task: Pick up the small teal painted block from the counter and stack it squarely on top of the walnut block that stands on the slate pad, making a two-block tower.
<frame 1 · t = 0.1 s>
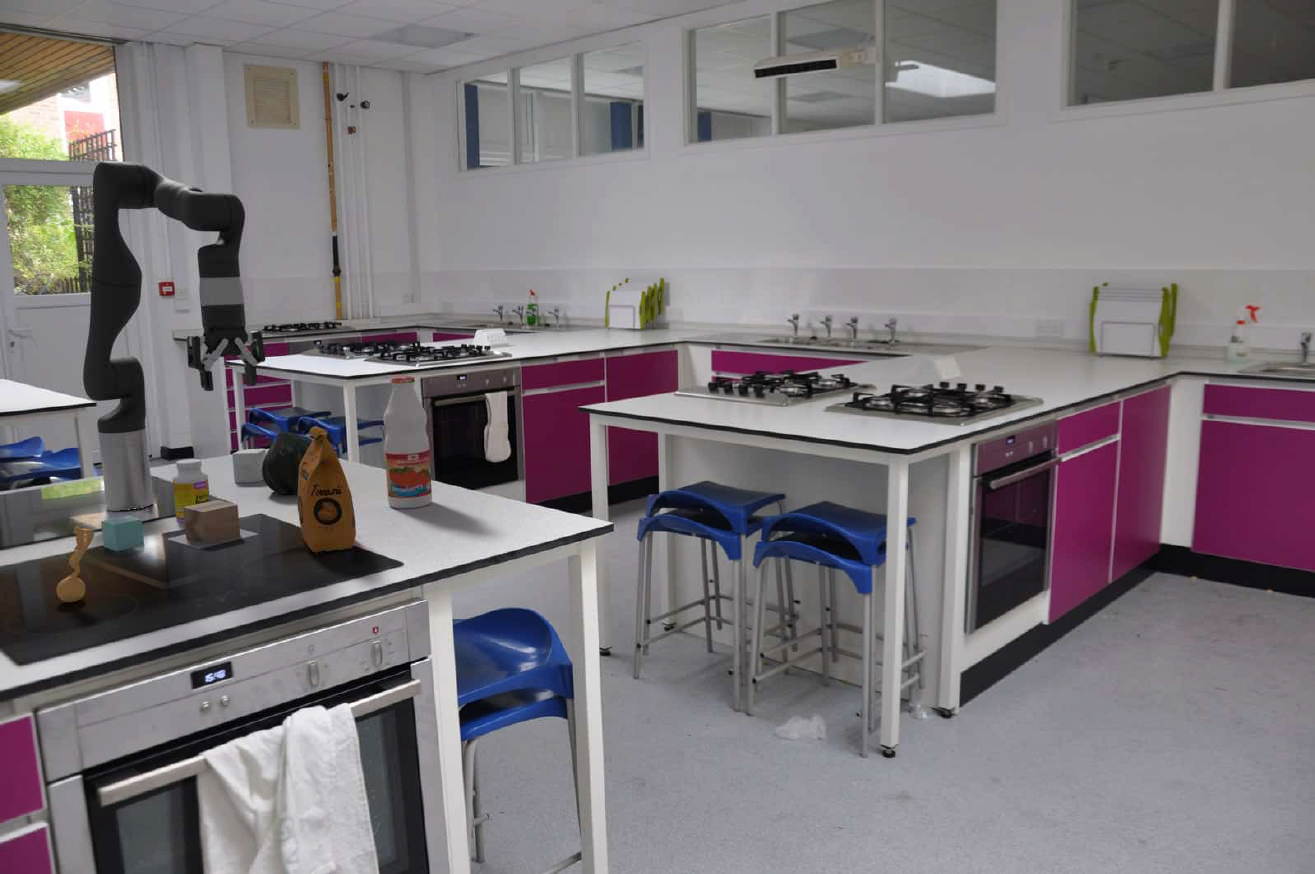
hand: (230, 388, 192), 29 cm above the counter, tool pointing down, fingers open, 8 cm apart
teal block: (124, 551, 188), on the counter
supplement bottle: (194, 522, 209), on the counter
slate pad: (213, 541, 194), on the counter
skincare box: (251, 481, 249), on the counter
squash: (298, 492, 236), on the counter
walnut block: (213, 536, 194), point 1 cm above the counter, touching slate pad
coffee package: (329, 546, 190), on the counter
figurine: (80, 601, 161), on the counter
fruit juice: (410, 505, 221), on the counter
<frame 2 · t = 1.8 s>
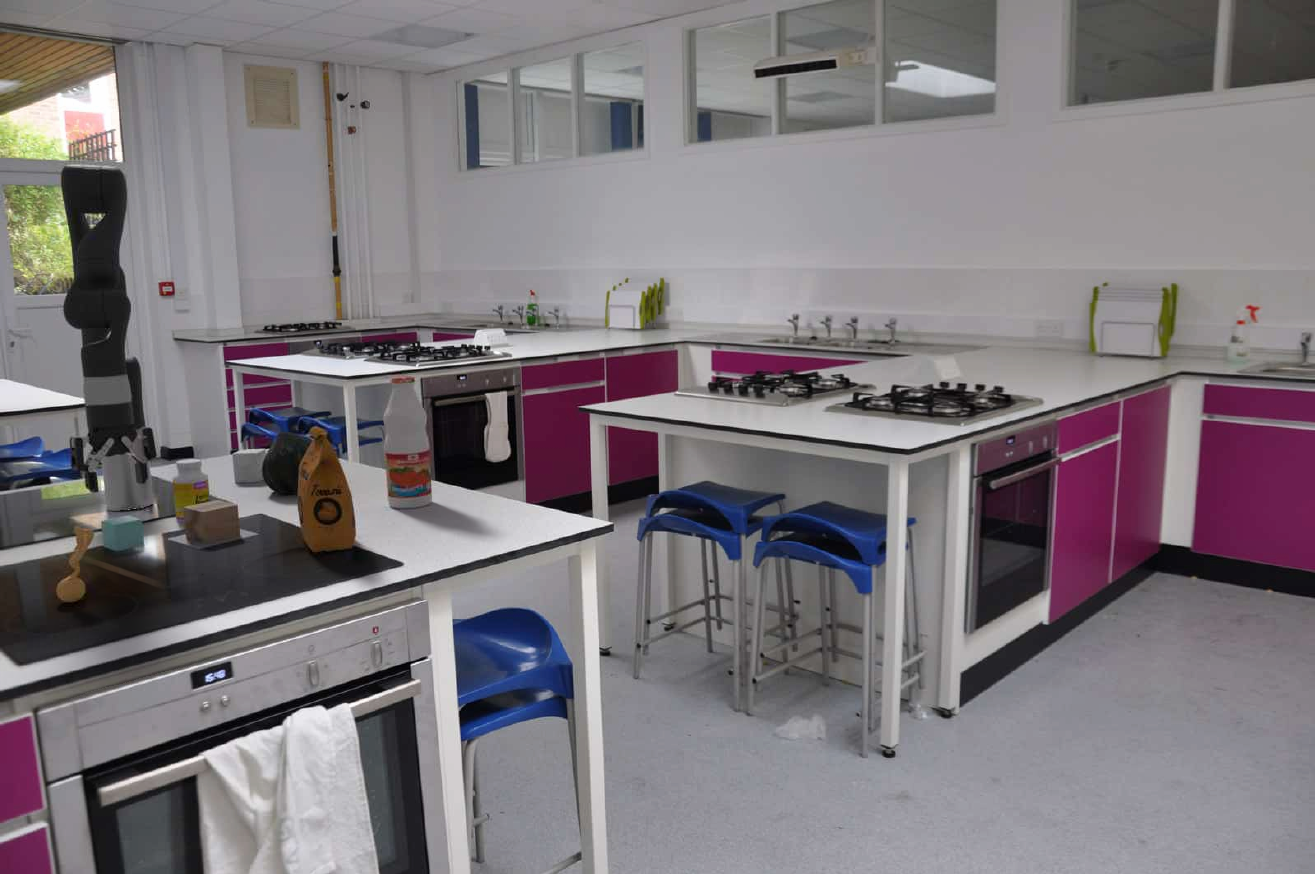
hand: (118, 487, 186), 12 cm above the counter, tool pointing down, fingers open, 8 cm apart
nothing on the counter moved.
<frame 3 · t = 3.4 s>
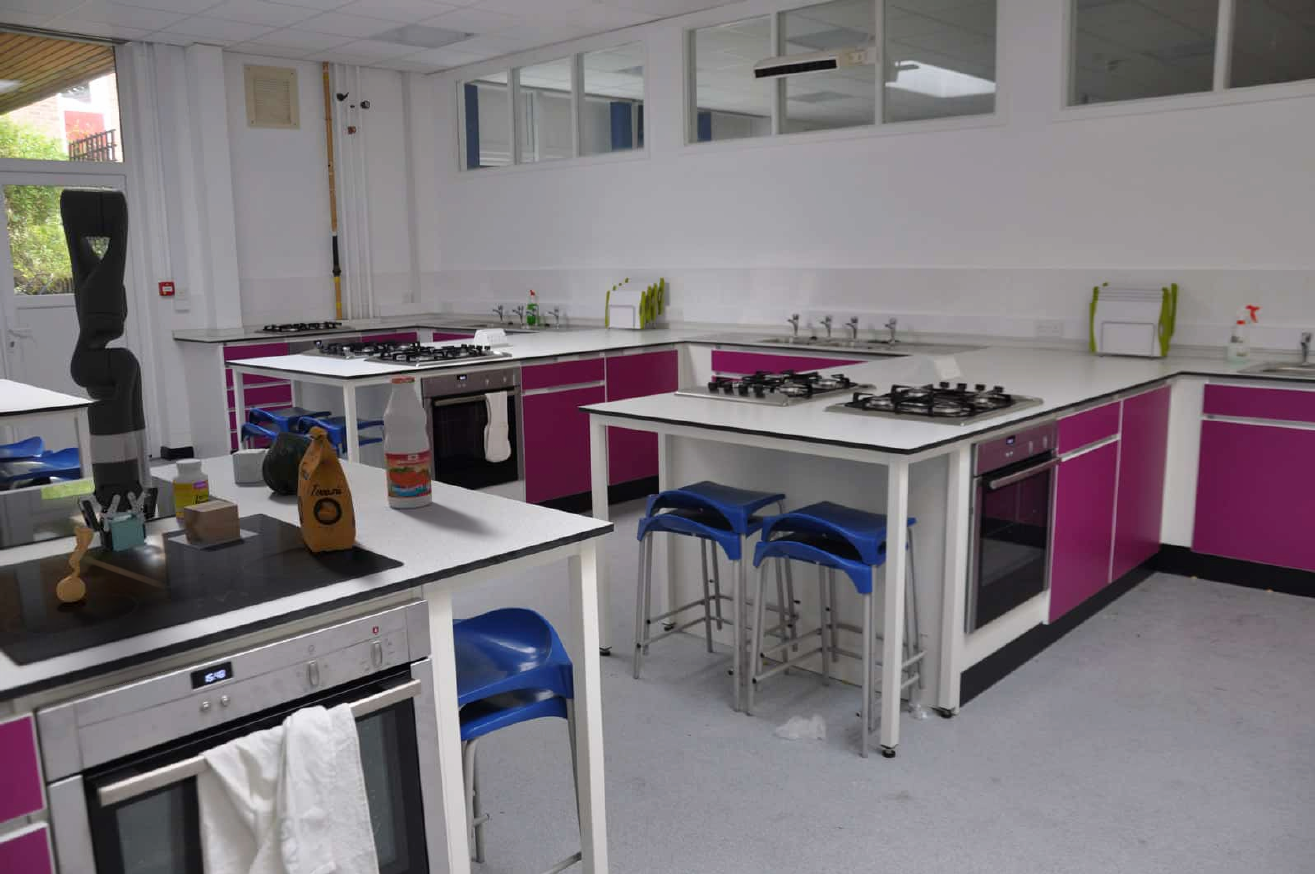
hand: (124, 546, 188), 1 cm above the counter, tool pointing down, fingers closed on teal block, 5 cm apart
teal block: (125, 551, 188), on the counter, touching gripper
everything else where it was.
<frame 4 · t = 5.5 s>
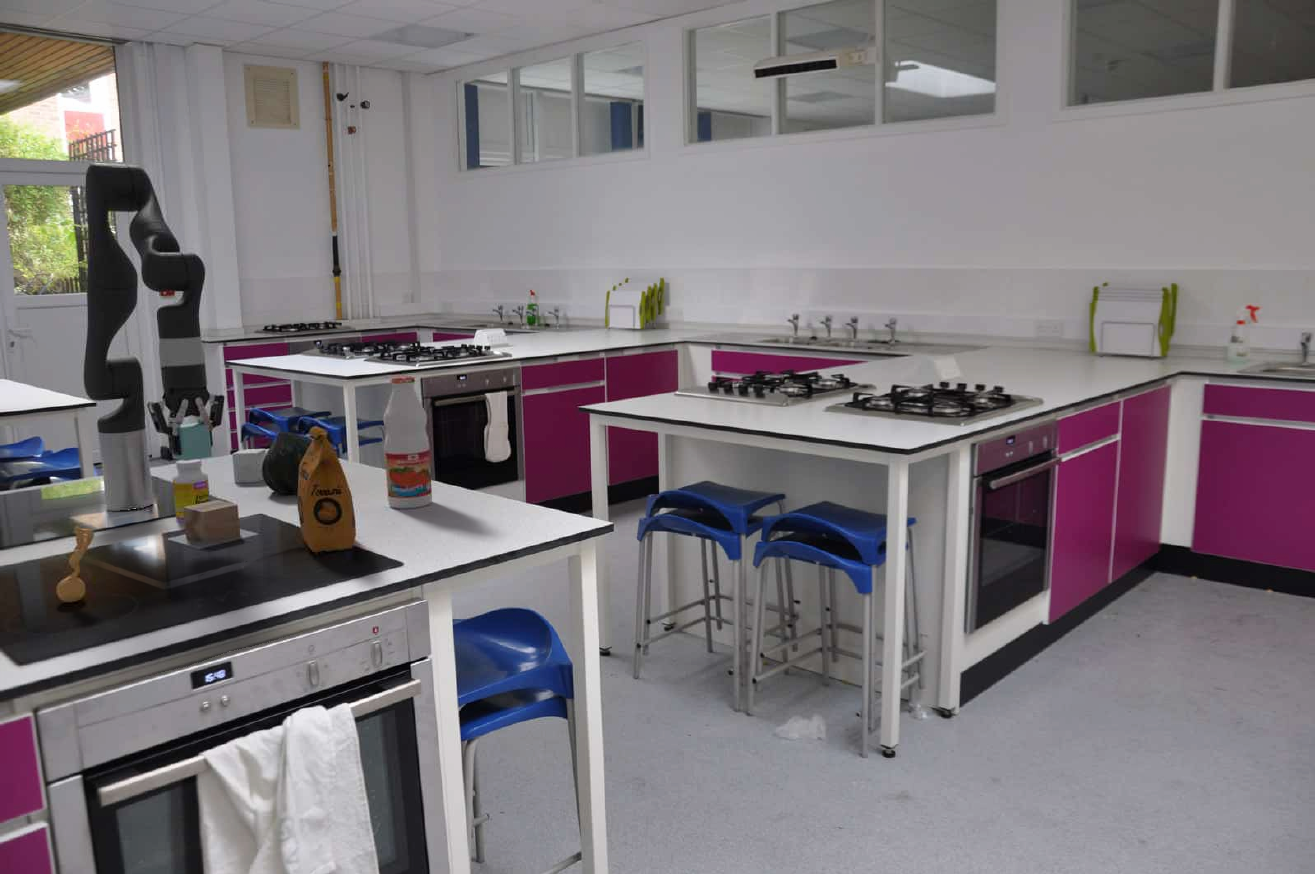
hand: (191, 452, 190), 18 cm above the counter, tool pointing down, fingers closed on teal block, 5 cm apart
teal block: (192, 457, 190), point 17 cm above the counter, touching gripper
everything else where it was.
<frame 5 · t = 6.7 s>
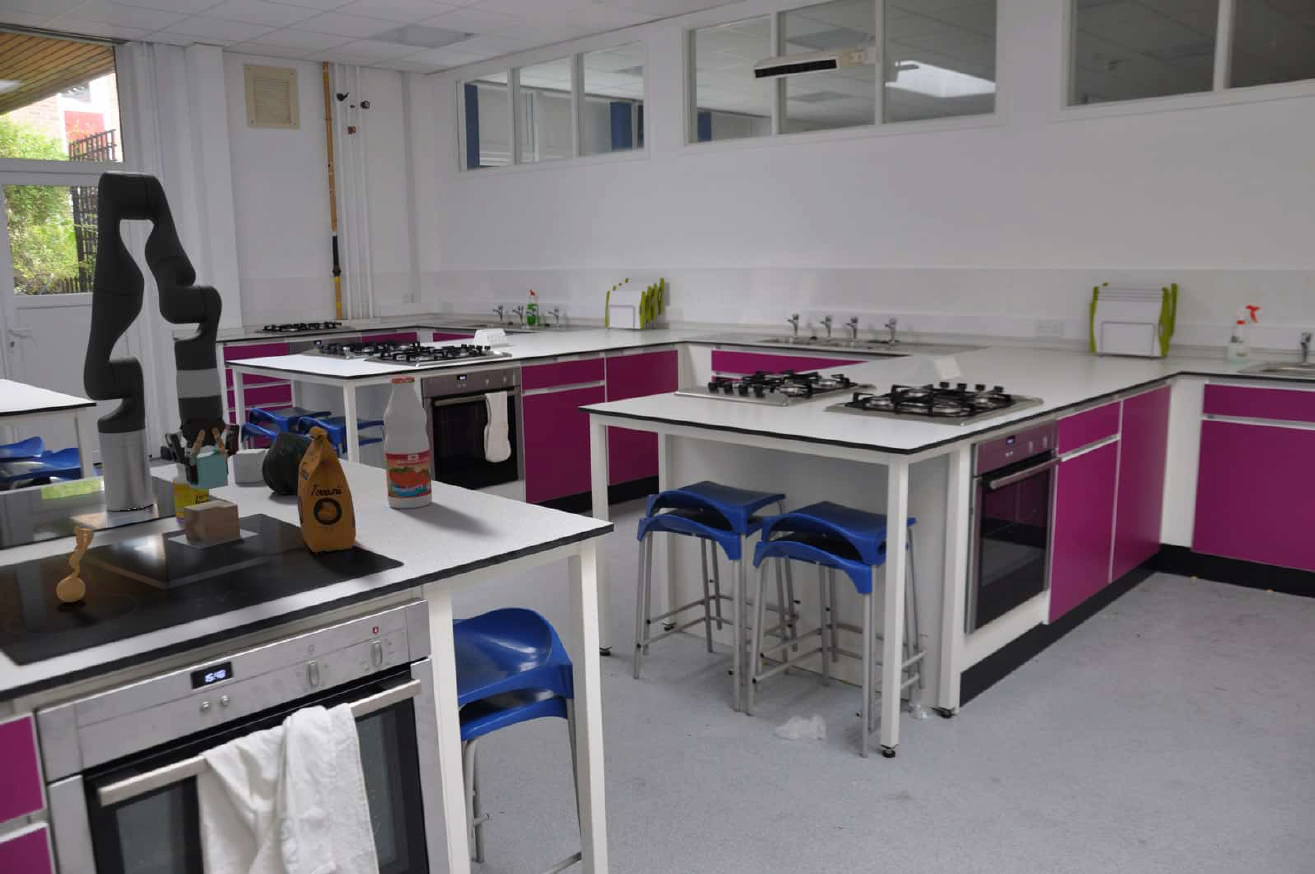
hand: (208, 481, 192), 12 cm above the counter, tool pointing down, fingers closed on teal block, 5 cm apart
teal block: (208, 486, 192), point 11 cm above the counter, touching gripper
everything else where it was.
when the fingers open (9 cm above the counter, at t = 7.6 s): teal block drops 1 cm, resting on walnut block.
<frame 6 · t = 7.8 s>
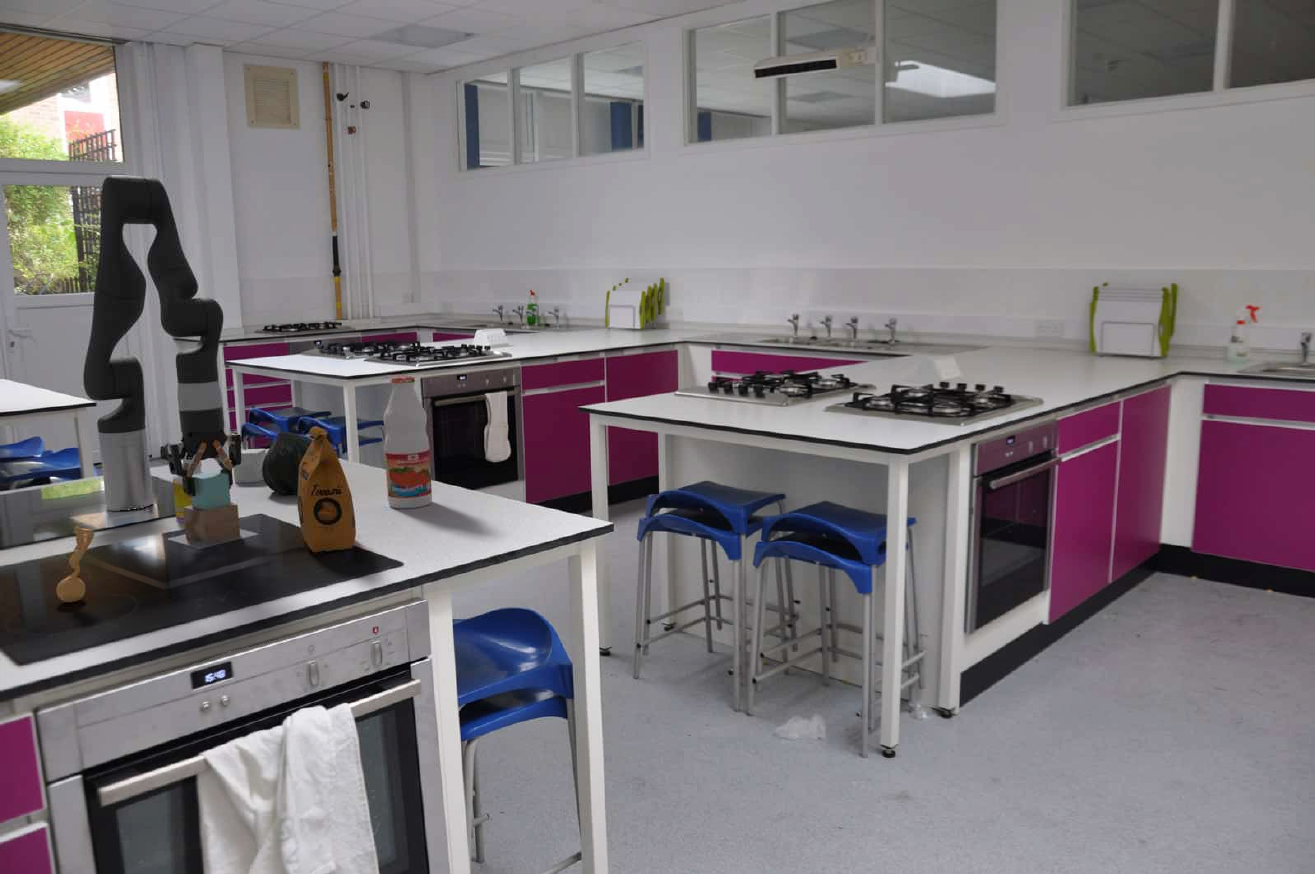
hand: (209, 492, 192), 10 cm above the counter, tool pointing down, fingers open, 6 cm apart
teal block: (211, 505, 193), point 7 cm above the counter, touching walnut block
walnut block: (213, 536, 194), point 1 cm above the counter, touching slate pad, teal block
everything else where it was.
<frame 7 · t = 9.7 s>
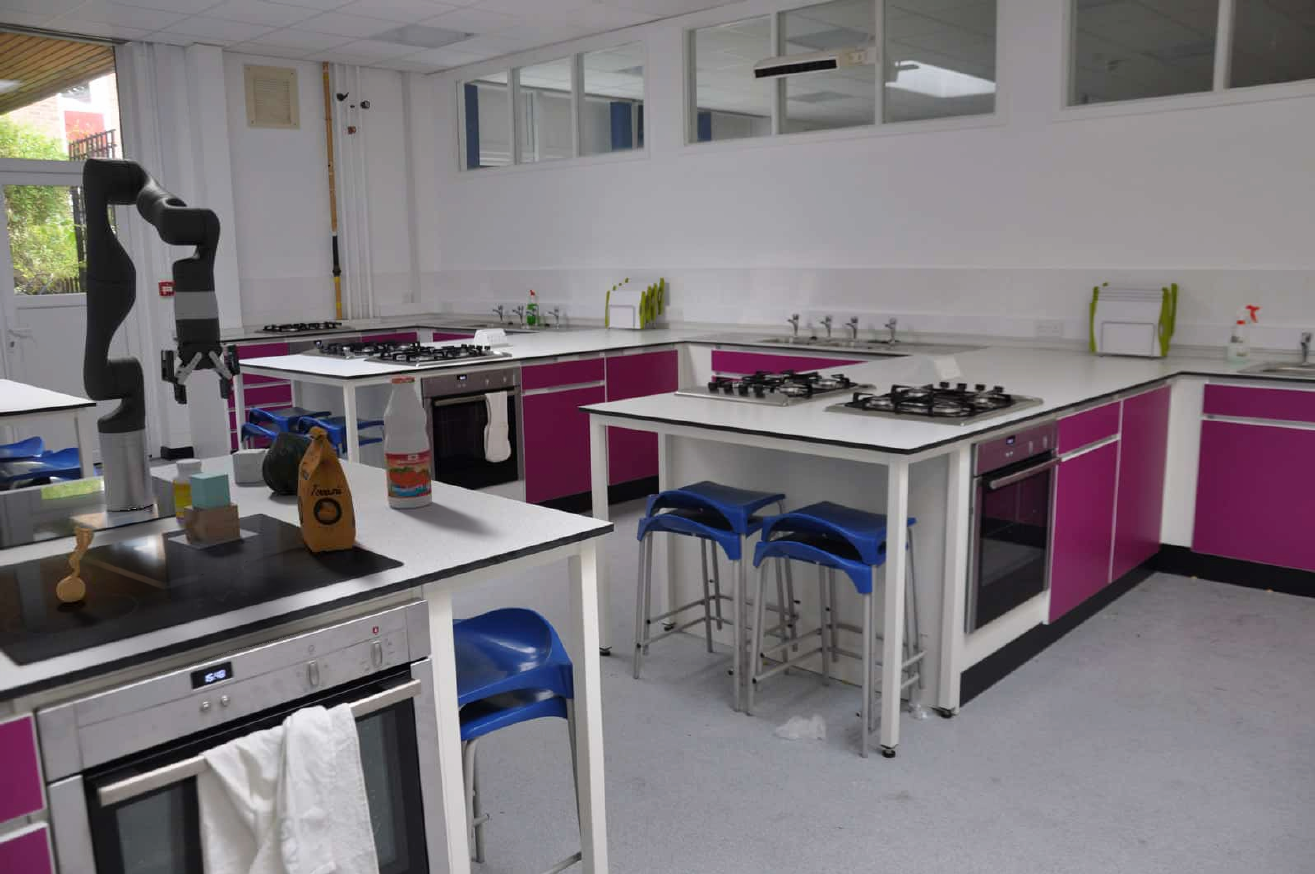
hand: (204, 401, 192), 27 cm above the counter, tool pointing down, fingers open, 8 cm apart
nothing on the counter moved.
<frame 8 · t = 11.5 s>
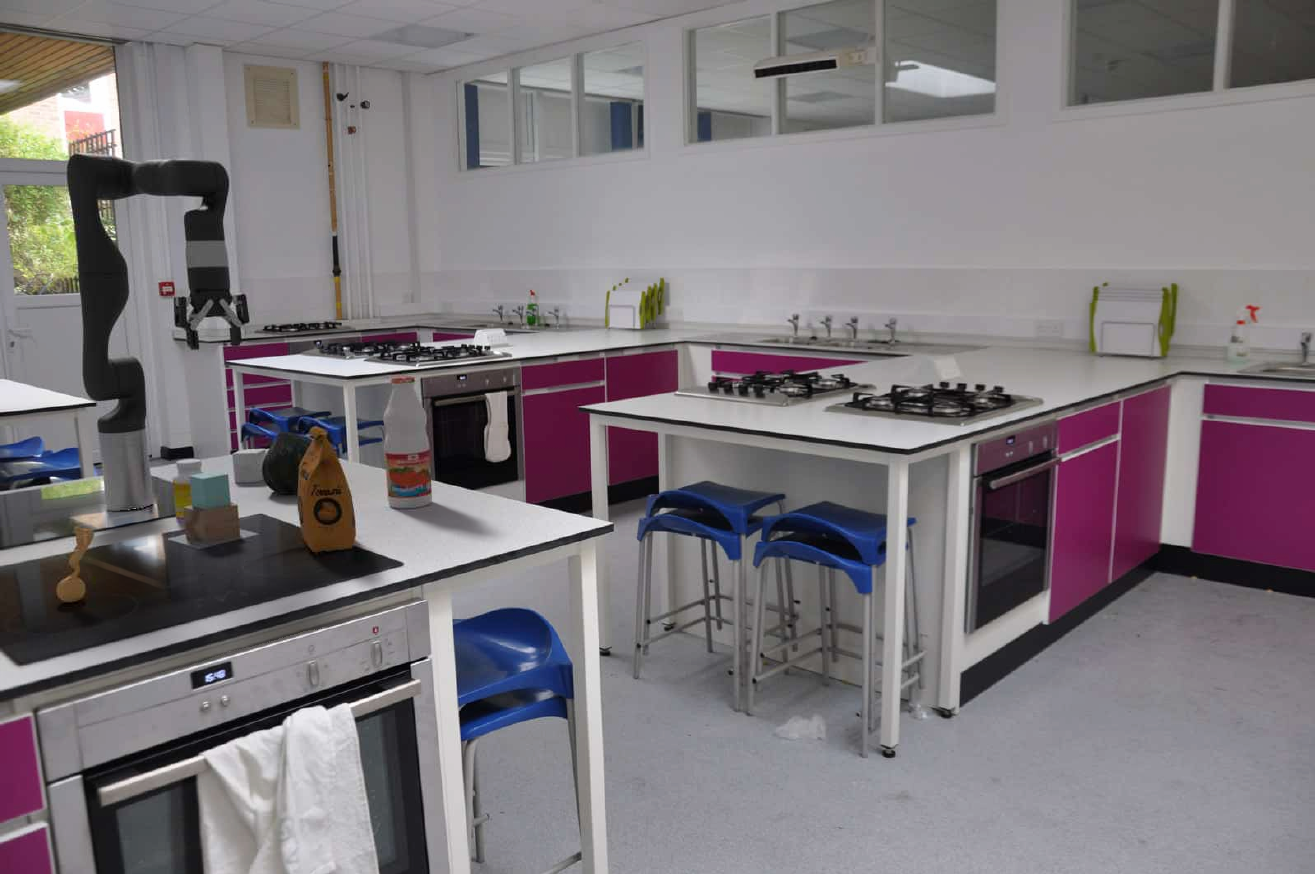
hand: (215, 347, 200), 36 cm above the counter, tool pointing down, fingers open, 8 cm apart
nothing on the counter moved.
at the end: teal block 0.2 cm off-centre on the walnut block, point 6.0 cm above the walnut block's base; teal block tilted 0°; walnut block moved 0.0 cm from its start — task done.
